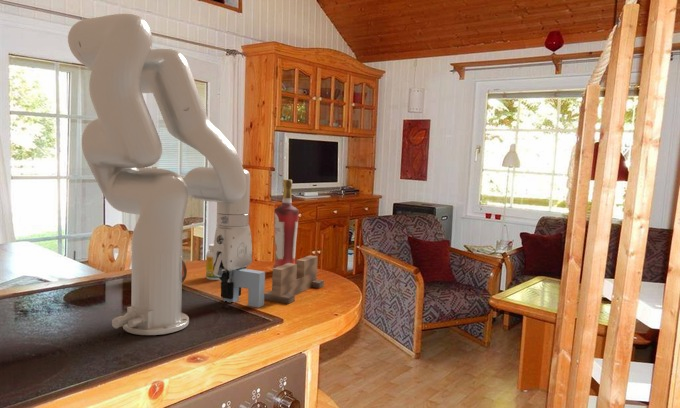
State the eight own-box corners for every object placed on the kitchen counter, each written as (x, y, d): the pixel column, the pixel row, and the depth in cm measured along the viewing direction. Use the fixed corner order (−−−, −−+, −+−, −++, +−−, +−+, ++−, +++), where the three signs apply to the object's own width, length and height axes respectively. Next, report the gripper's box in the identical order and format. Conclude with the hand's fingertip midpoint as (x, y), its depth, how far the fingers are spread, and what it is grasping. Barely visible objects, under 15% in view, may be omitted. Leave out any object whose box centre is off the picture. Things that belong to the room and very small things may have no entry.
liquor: (269, 269, 157) (272, 178, 154) (291, 268, 160) (295, 179, 157) (276, 274, 150) (279, 180, 148) (300, 273, 153) (303, 180, 151)
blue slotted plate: (264, 305, 120) (265, 271, 119) (258, 307, 118) (259, 273, 117) (228, 298, 124) (229, 266, 123) (222, 301, 122) (223, 268, 121)
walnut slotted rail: (288, 304, 122) (289, 271, 121) (263, 299, 124) (264, 267, 124) (324, 285, 140) (325, 257, 139) (301, 282, 143) (302, 254, 142)
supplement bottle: (219, 275, 147) (219, 242, 146) (229, 278, 143) (229, 245, 142) (202, 277, 143) (202, 243, 142) (212, 281, 139) (212, 246, 139)
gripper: (225, 225, 112) (223, 307, 113) (264, 218, 126) (262, 291, 128) (197, 222, 114) (196, 302, 116) (239, 216, 129) (237, 287, 131)
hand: (230, 295), depth 122 cm, fingers closed on blue slotted plate, 2 cm apart
